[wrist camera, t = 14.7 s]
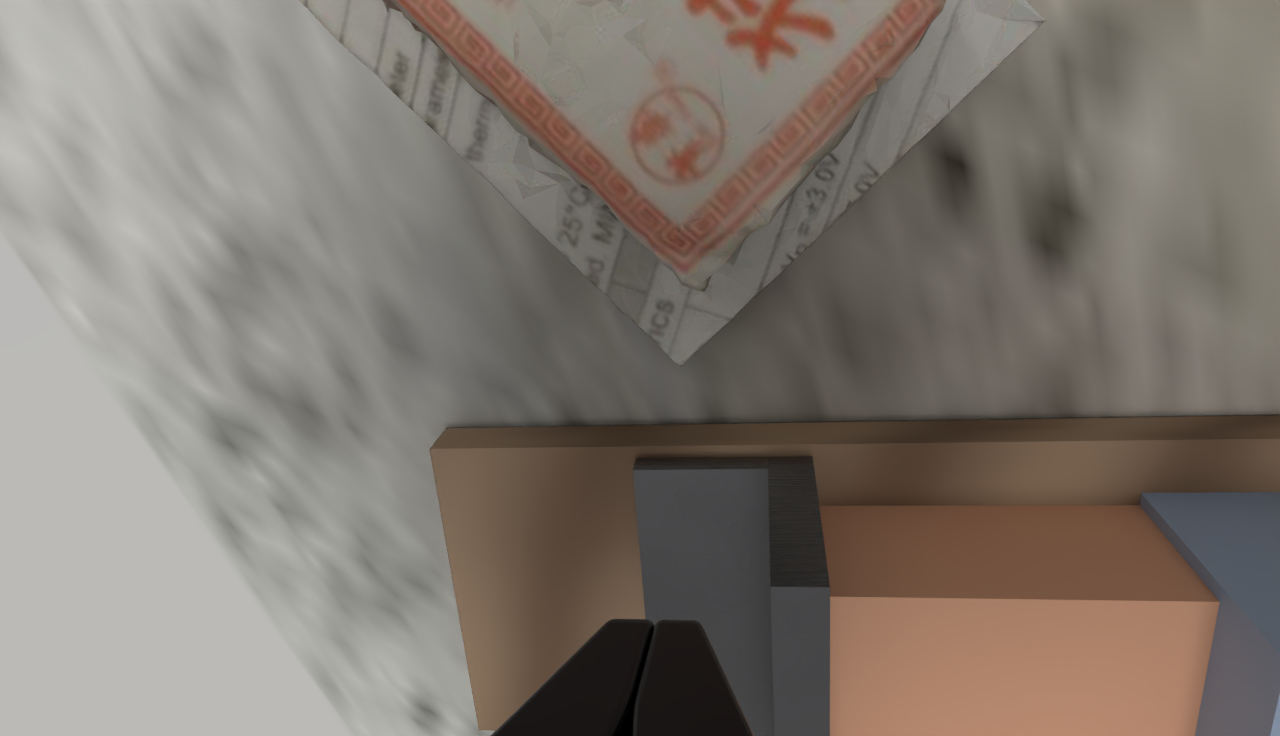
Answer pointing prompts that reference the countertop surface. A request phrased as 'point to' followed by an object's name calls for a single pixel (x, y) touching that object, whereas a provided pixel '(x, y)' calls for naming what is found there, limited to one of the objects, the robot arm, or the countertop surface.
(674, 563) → the bookend
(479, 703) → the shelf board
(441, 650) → the countertop surface
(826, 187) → the packaged product
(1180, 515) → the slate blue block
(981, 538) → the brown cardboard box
